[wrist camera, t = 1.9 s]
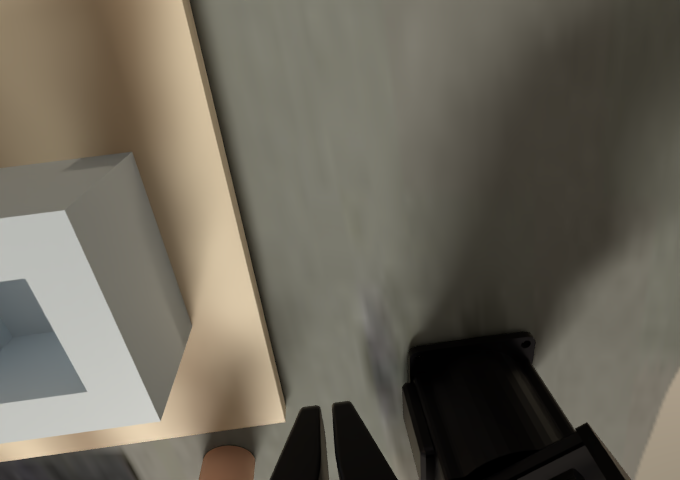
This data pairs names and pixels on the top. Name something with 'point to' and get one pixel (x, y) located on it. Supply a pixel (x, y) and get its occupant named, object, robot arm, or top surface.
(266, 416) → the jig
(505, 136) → the top surface
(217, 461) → the dowel
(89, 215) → the block
